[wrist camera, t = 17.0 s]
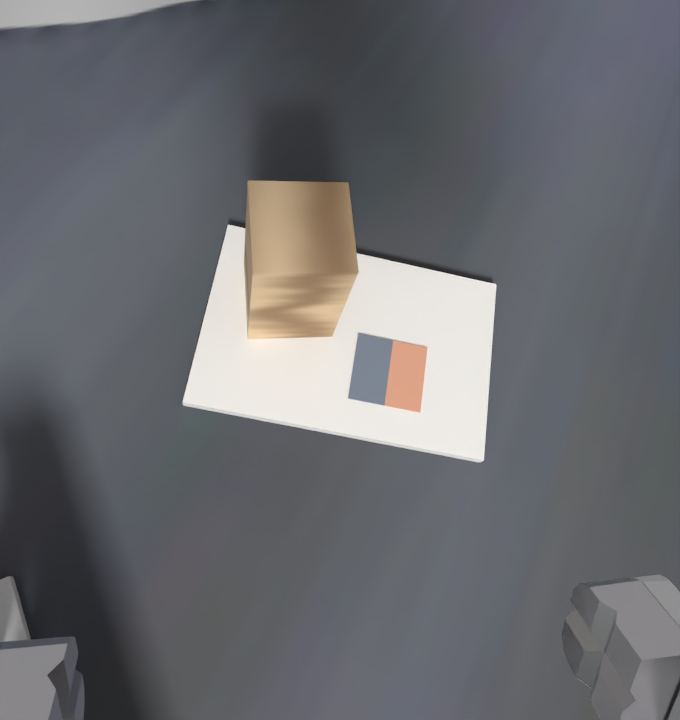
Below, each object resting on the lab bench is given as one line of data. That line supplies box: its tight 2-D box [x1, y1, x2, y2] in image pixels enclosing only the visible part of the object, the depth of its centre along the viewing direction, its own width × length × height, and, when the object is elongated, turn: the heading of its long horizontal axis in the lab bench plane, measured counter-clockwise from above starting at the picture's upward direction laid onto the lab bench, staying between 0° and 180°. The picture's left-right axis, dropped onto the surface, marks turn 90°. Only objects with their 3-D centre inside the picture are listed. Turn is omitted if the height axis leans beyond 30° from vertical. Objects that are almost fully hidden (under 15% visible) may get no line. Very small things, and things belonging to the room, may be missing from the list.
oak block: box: [244, 181, 359, 339], centre depth 41 cm, size 6×6×10 cm
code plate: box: [183, 225, 496, 463], centre depth 46 cm, size 21×14×1 cm, turn 81°
